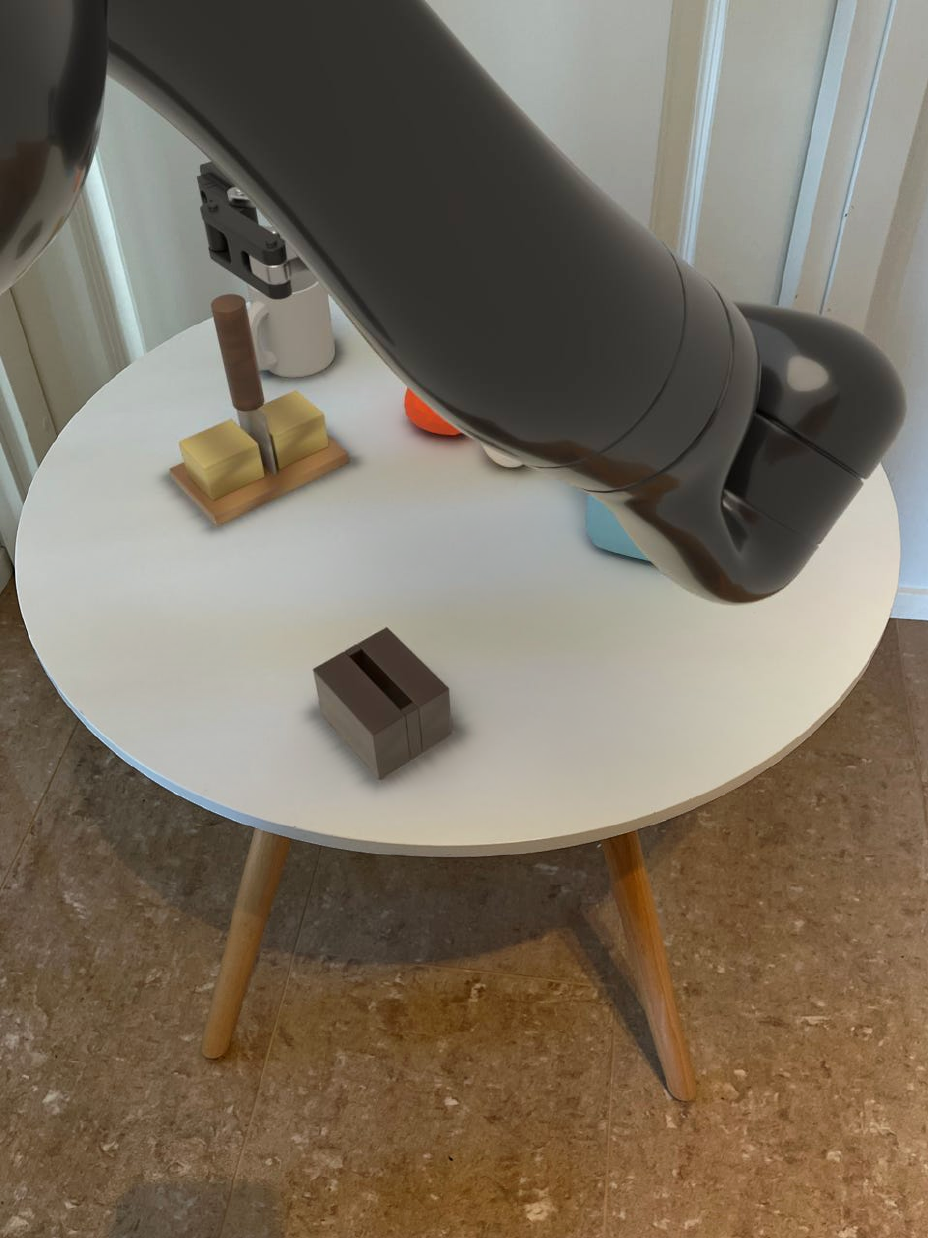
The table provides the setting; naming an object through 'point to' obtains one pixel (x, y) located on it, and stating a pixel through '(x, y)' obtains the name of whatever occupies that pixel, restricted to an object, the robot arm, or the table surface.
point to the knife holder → (383, 702)
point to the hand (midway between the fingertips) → (279, 157)
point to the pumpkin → (426, 416)
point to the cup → (292, 329)
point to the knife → (242, 371)
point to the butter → (256, 459)
